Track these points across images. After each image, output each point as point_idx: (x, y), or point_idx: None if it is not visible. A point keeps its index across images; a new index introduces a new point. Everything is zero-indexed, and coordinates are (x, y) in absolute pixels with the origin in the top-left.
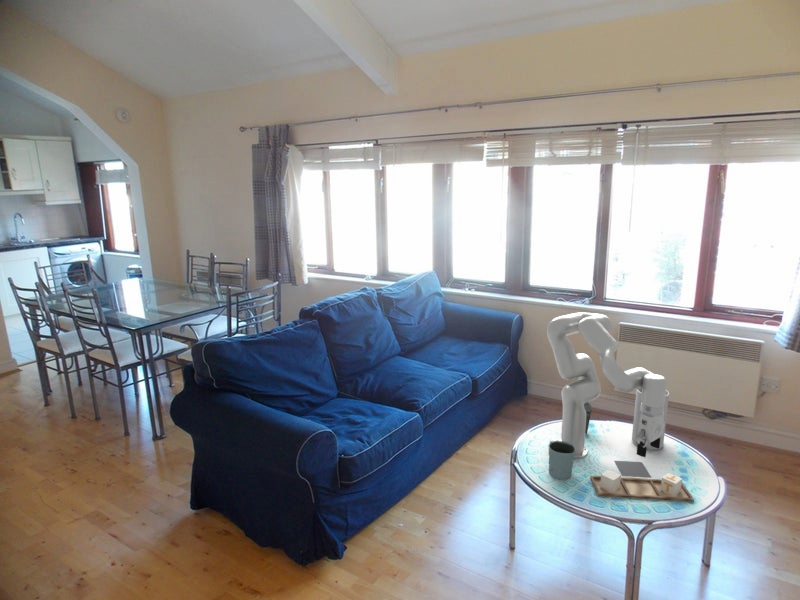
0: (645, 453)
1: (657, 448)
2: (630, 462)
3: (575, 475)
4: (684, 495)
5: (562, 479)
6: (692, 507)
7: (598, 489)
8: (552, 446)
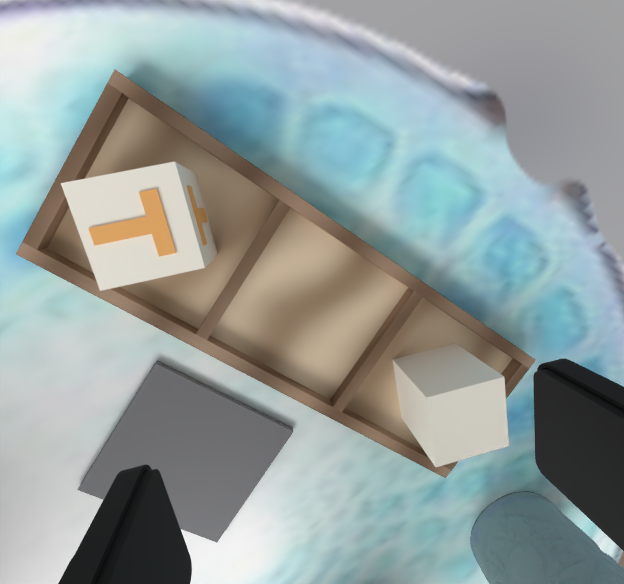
0: (621, 389)
1: None
2: None
3: (467, 505)
4: (121, 151)
5: (544, 498)
6: (174, 53)
7: None
8: None
